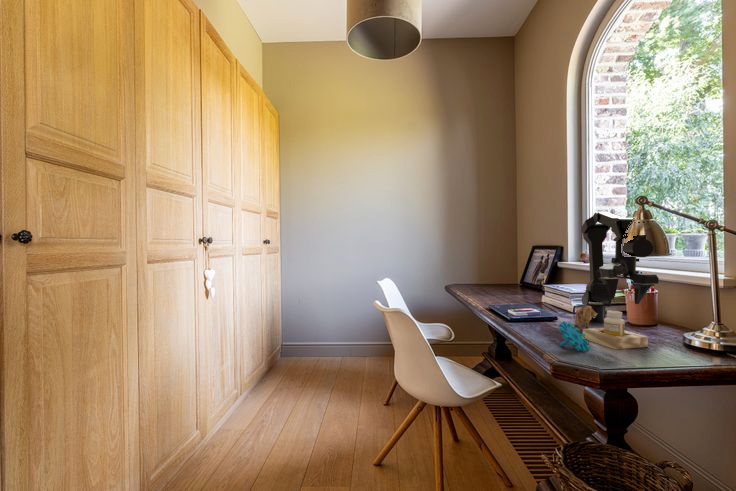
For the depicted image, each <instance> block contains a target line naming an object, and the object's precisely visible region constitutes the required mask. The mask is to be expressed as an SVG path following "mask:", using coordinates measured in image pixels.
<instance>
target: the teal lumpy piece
mask: <svg viewBox="0 0 736 491" xmlns="http://www.w3.org/2000/svg"><path fill="white" fill-rule="evenodd" d="M558 326H559V327H560V328H558V329H559V332H560V333H563V334H562V335H561V336H562V337H563V339H565V340H563V341H562V342H560V344H559V345H560V346H561V347H562V348H563V347H565V346H566V345H567V344H569V346H571V347H573V346H574V345H575V347H574V349H576V350H577V351H578V352H580V351H581V352H583V353H586V352H587V351H588V350H589V349H590V346H589V340H586V339H584V338H585V336H586V335H585V333H583V332H582V333H580V330H579V329H578V328H579V327H577V326H576V327H574V324H572V323H570V322H567V321H564V320H563V321H562V322H561V323H559V324H558ZM573 327H574V328H573Z"/></svg>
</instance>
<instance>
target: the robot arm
mask: <svg viewBox="0 0 736 491" xmlns="http://www.w3.org/2000/svg"><path fill="white" fill-rule="evenodd" d="M633 218H634V217H622V216H619V215H616V214H614V213H611V212H610V211H597V212H594V214H593V215H592V216H591V217H589V218H587V219H585V221H584V222H583V224H582V226H581V230H580V231H581V233H582V236H583V240H584V241H585V242H586V244H587V246H588V261H589V262H588V263H589V264H588V265H589V280H588V283H587V284H586V286H585V290H584V291H585V292H584V294H583V295H582V298H581V305H583V306H591V307H592V310H594V311H595V312H596V313H597V315H596V316H595V318H593V317H592V319H591V320H590V321H589V322H591V323H596V324H597V323H598V324H599V323H604V319H605V318H606V313H607V311H606V310H607V309H606V308H607V307H609V308H610V307H611V304H612V300H614V299H615V297H616V294H617V289H618V284H619V281H620V279H624V280H625V279H626V280H632V281H633V282H632V283H631V285H632V286H633V288H634V304H635V305H639V304H640V303H641V301H642V300H643V298H644V297H645V295H646V294H647V292H649V289H650V288H651V287H653V286H655V285H656V284H659V279H660V278H659V276H658V275H657V274H655V273H643V272H642V273H640V271H639V270H636V269H637V268H636V266H637V262H639V263H640V258H647V257H649V256H650V255H651V254H652V253H653V251H654V246H653V243H652V242H651V241H650V240H649V239H647V238H646V236H647V234H646V235H637V236H633V238H634V239H633V240H630V241H628V242H627V243H624V246H623V251H624V252H625V253H627V254H629V255H631V256H637V257H624V256H622V253H621V244H622V239H623V238H625V239H626V238H627V237H628V236H627V234H628V233H625V231H626V229H627V230H628V228H629V227H628V225H629V224H630V222H632V219H633ZM630 225H631V224H630ZM630 225H629V226H630ZM627 227H628V228H627ZM610 230H611V233H613V234H614V235H615V237H614V238H613V242H615V252H614V253H615V255H614V256H615V257H612V258H611V260H610V263H605V264H604V251H603V250H604V249H603V248H604V247H603V243H604V241H605V240H606V238H608V234H607V233H608V231H610ZM624 234H626V236H625V235H624ZM623 235H624V237H623Z"/></svg>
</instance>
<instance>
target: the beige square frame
mask: <svg viewBox="0 0 736 491" xmlns="http://www.w3.org/2000/svg"><path fill="white" fill-rule="evenodd" d="M582 333H585V335H586V336H585V338H584V340H586V339H587V341H588V342H592V343H596V344H598V345H601V346H604V347H607V348H611V349H614V350H621V349H623V350H624V349H636V348H637V349H638V348H647V347H648V346H649V344H648V343H649V342H648V341H649V340H648V339H649V338H648V336H646V335H643V334H637V333H635V332H631V331H627V330H625V329H624V336H612V335H609V334H606V333H604V327H595V328H589V329H585V328H582Z"/></svg>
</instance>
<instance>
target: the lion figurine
mask: <svg viewBox="0 0 736 491" xmlns="http://www.w3.org/2000/svg"><path fill="white" fill-rule="evenodd" d="M575 311H576V312H575V321H574V324H573V326H576V327H577V326H578V327H577V328H578V329H579V331H583V327H582V326H584V329H590V328H589V325H590V322H591V321H590V320H591V319H592V317H593V318H595V316H596V315H597V313H596V312H595V311H594V310H592V307H591V306H586V305H584V306H583V307H579V308H577V309H576V310H575Z"/></svg>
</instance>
